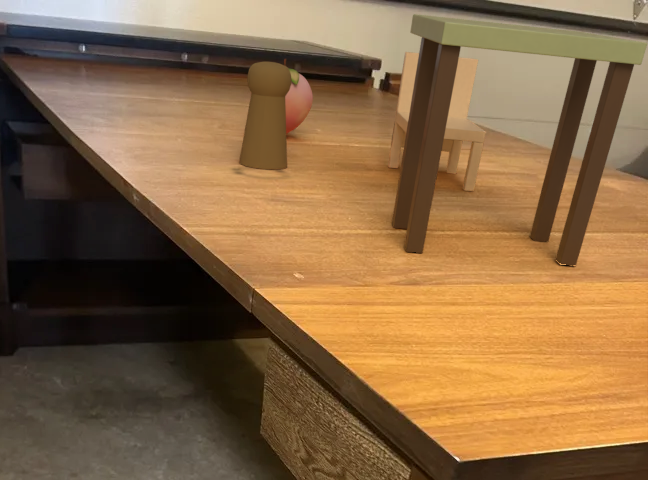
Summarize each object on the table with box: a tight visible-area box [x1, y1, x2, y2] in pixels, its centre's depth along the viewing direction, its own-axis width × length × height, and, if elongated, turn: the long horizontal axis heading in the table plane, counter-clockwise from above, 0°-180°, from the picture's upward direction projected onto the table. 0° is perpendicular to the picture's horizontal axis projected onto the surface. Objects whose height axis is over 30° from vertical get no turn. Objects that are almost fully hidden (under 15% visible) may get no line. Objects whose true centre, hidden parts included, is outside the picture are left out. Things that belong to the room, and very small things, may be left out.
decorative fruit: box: [283, 58, 314, 135], centre depth 117 cm, size 9×8×10 cm
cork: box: [238, 61, 292, 170], centre depth 98 cm, size 6×6×11 cm
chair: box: [387, 51, 487, 192], centre depth 100 cm, size 9×12×13 cm
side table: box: [391, 13, 648, 266], centre depth 74 cm, size 16×16×18 cm
